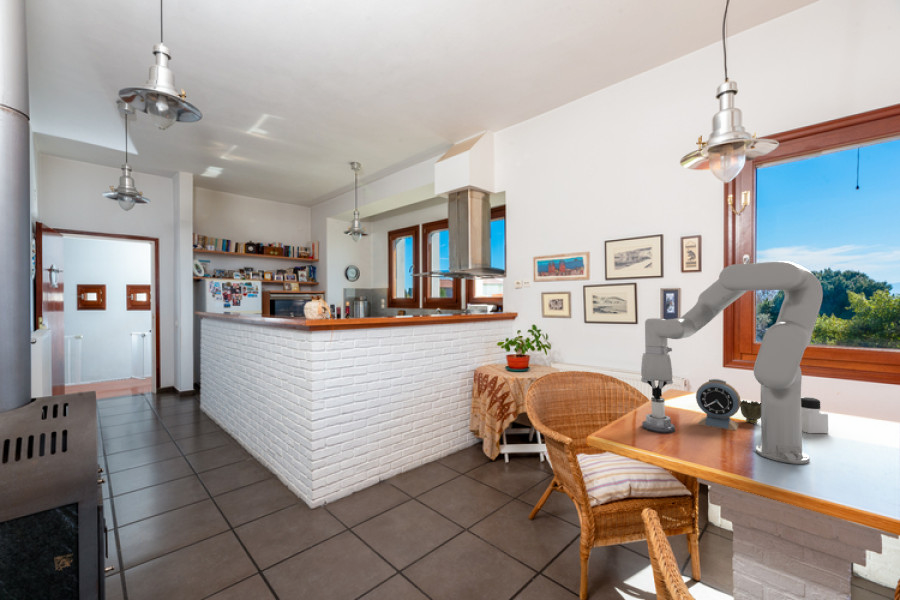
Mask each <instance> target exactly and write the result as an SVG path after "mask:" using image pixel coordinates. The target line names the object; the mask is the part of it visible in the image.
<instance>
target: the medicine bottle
mask: <svg viewBox="0 0 900 600" xmlns="http://www.w3.org/2000/svg"><path fill="white" fill-rule="evenodd" d="M801 424H802V432H803V431H804V432H803V433H806V432H807V434H808V433H827V434H829V415H828V413H826V412H822V411H821V400H819V399H818V398H815V397H809V396H801Z"/></svg>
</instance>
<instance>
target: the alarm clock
mask: <svg viewBox="0 0 900 600" xmlns="http://www.w3.org/2000/svg"><path fill="white" fill-rule="evenodd" d="M695 400H696V404H697V405H698V407H699V408H700V410H701V411H702V412H704V413H705V414H706V416H704V417H701V418H700V420H699V421H698V423H697V425H698V424H699V425H700V426H704V425H706V426H705V427H710V426H712V427H711V428H716V427H717V429H722V428H723V429H724V430H728V429H729V431H734V430H735V431H734V432H737V431H738V429H739V426H740V423H738V422H736V421H734V420H731V417H733V416H734V415H736V414H737V413H738V412H739V409H741V408H740V404H741V401H742V399H741V396H740V394H739V392H738V391H737V389H736V388H735V387H733V386H732V385H731V384H730V383H727V381H726V380H724V379H720V378H719V379H718V378H711V379H708V381H706V382H705V383H702V384H701V385H700V386H699V387H698V388H697V390H696V394H695ZM737 428H738V429H737Z"/></svg>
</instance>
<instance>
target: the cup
mask: <svg viewBox="0 0 900 600" xmlns="http://www.w3.org/2000/svg"><path fill="white" fill-rule="evenodd" d="M739 409H740V412H741V415H742V416H743V417H744V418H745V421H746V423H748V424H752V423H756V424H758V422H759V421H758V420H759V419H760V420H761V402H758V401H757V400H756V401H754V400H751V401H749V402H748V401H747V400H744V399H743V400H741V404H740V408H739Z"/></svg>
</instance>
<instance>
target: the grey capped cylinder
mask: <svg viewBox="0 0 900 600" xmlns="http://www.w3.org/2000/svg"><path fill="white" fill-rule="evenodd" d="M650 400H651V401H650V402H651V414H652V418H656V419H665V415H666V413H665V412H666V411H665V410H666V409H665V408H666V406H665V405H666V404H665V398H664V397H660V399H658V398H657V399H655V398H654V396H652V397H651V399H650Z"/></svg>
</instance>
